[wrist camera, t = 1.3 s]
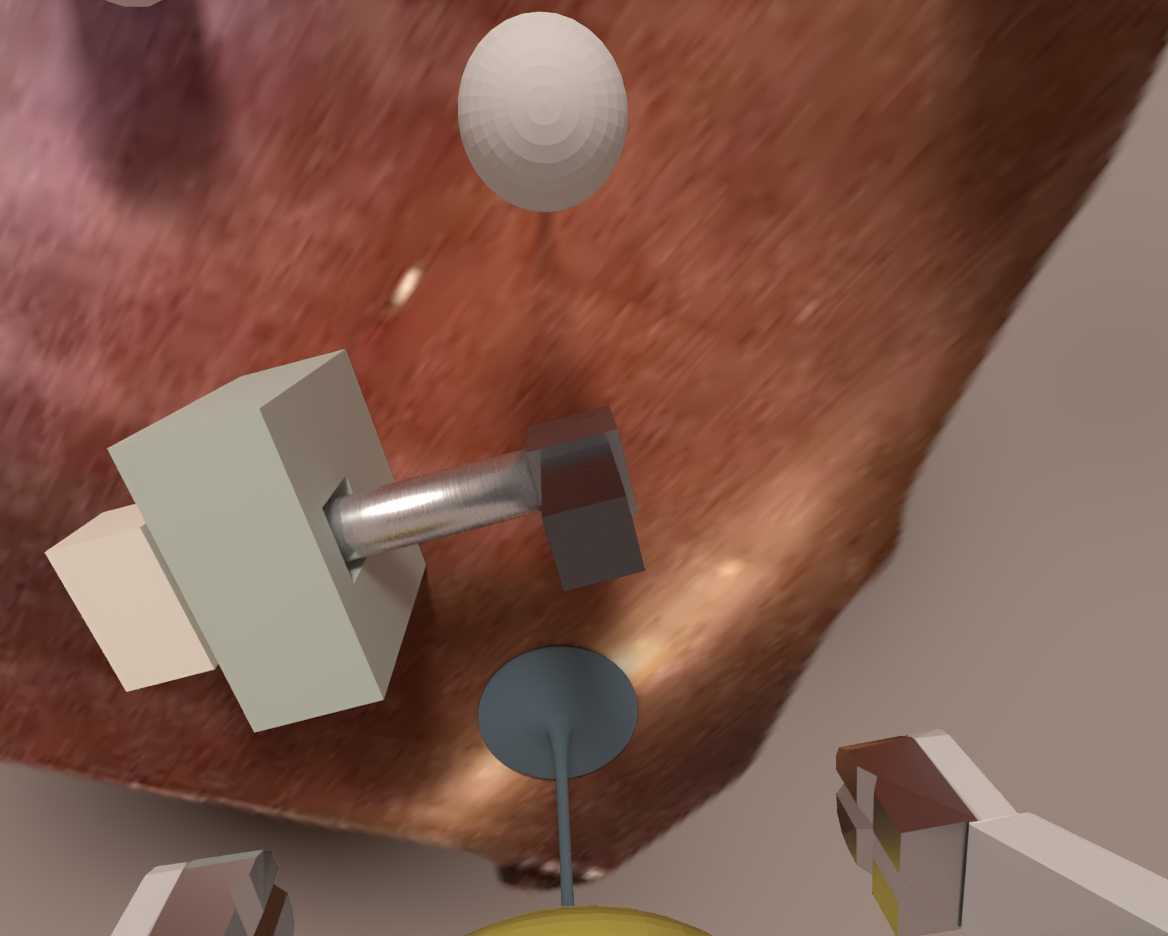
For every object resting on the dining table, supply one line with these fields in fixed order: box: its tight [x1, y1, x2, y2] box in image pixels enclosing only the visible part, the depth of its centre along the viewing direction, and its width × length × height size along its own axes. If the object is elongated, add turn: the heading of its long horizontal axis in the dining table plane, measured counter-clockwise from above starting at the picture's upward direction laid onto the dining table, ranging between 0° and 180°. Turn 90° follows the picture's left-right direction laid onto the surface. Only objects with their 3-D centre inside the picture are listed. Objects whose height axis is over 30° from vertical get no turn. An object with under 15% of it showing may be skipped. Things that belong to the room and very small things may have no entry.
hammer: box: [322, 405, 645, 591], centre depth 29 cm, size 25×4×10 cm, turn 104°
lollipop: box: [458, 12, 628, 212], centre depth 29 cm, size 6×6×15 cm
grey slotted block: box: [107, 349, 426, 733], centre depth 35 cm, size 6×14×13 cm, turn 14°
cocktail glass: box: [465, 646, 712, 936], centre depth 36 cm, size 18×18×25 cm
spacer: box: [45, 504, 219, 692], centre depth 31 cm, size 4×7×4 cm, turn 15°
